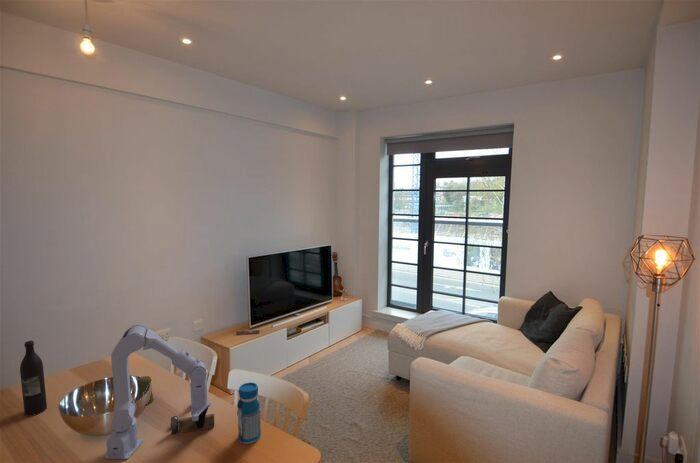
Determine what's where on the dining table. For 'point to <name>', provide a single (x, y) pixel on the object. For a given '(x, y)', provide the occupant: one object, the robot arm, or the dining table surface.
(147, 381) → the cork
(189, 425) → the handle
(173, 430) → the hammer
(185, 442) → the dining table surface
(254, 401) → the beverage bottle
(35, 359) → the wine bottle
